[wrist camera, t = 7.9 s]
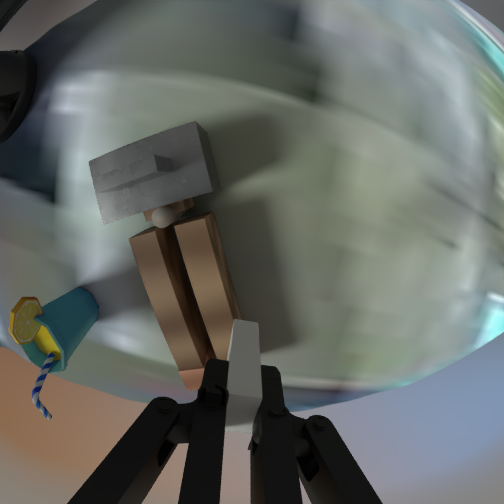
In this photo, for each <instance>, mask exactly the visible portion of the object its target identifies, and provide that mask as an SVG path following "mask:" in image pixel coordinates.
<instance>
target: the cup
mask: <svg viewBox="0 0 504 504" xmlns="http://www.w3.org/2000/svg"><path fill="white" fill-rule="evenodd" d="M98 309H99V306H98V305H97V303H96V301H95V299H94V297H93V295H92V294H91V293H90V292H88V291H86V290H84V289H82V288H80V287H78V288H76V289H74V290H72V291H70V292H68V293H66V294H64V295H63V296H61V297H59V298H57V299H55V300H53V301H52V302H50V303H48V304H46V305H44V306H43V307H41V305H40V303H39V301H38V299H37V298H35V297H22V298H21V299H20V300H19V302H18V303H17V304H16V305H15V307H14V308H13V309H12V311H11V315H10V323H9V332H10V334H11V335H12V337H13V338H14V340H15V341H16V343H18V344H19V345H21V346H22V348H23V349H24V351H25V353H26V354H27V356H28V357H29V359H30V360H31V361H32V362H33V363H35V364H36V365H37V366H39V367H40V368H42V369H41V371H40V374H39V376H38V378H37V381H36V383H35V386H34V388H33V391H32V399H33V403H34V404H35V405H36V406H37V408H38V409H39V410H40V411H41V412H42V413H43V414H44V415H45V417H46V418H47V419H48V420H50V419H51V418H52V415H51V414H50V413H49V412H48V410H47V409H46V408H45V407H44V406H43V404H42V403H41V402H40V401H39V393H40V390H41V388H42V385H43V383H44V380H45V378H46V375H47V373H50V374H52V373H56V372H60V371H64V370H65V368H66V367H67V365H68V364H67V361H68V359H69V358H70V356H71V355H72V354H73V352H74V351H75V349H76V348H77V346H78V345H79V343H80V342H81V341H82V339H83V338H84V336H85V335H86V334H87V332H88V331H89V330H90V328H91V327H92V326H93V324H94V323H95V321H96V320H97V317H98Z"/></svg>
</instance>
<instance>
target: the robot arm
mask: <svg viewBox="0 0 504 504" xmlns="http://www.w3.org/2000/svg"><path fill="white" fill-rule="evenodd" d="M27 1H28V0H0V32H1V31H2V29H3V28H4V27H5V26H6V24H7V23H8V22H9V21H10V20H11V19H12V17H13V16H14V15H15V14H16V13H17V11H18V10H19V9H20V8H21V7H22V6H23V5H24V4H25V3H26V2H27ZM35 82H36V62H35V59H34V58H33V56H32V55H31V54H29V53H26V52H24V51H21V50H12V51H0V143H2V142H4V141H5V140H6V139H8V138H9V137H10V136H11V134H12V133H13V132H14V131H15V129H16V128H17V127H18V125H19V123H20V122H21V120H22V118H23V116H24V114H25V112H26V110H27V108H28V105H29V103H30V100H31V97H32V94H33V91H34V87H35ZM225 430H228V431H234V432H244V433H251V431H252V430H253V431H252V434H253V435H252V438H251V442H250V444H249V447H248V450H250V456H251V457H250V460H251V461H250V464H251V467H250V469H251V504H303V503H302V495H301V488H300V481H299V478H300V480H301V482H302V484H303V486H304V488H305V490H306V493H307V495H308V497H309V499H310V501H311V503H312V504H383V503H382V502H381V500H380V499H379V497H378V496H377V494H376V492H375V491H374V489H373V488H372V486H371V485H370V483H369V481H368V480H367V478H366V477H365V475H364V474H363V472H362V470H361V469H360V467H359V466H358V464H357V462H356V461H355V460H354V458H353V456H352V454H351V453H350V451H349V450H348V448H347V446H346V445H345V443H344V441H343V440H342V438H341V437H340V435H339V433H338V432H337V430H336V428H335V427H334V425H333V424H332V422H331V421H330V420H329V419H328V418H326V417H324V416H321V415H313V416H310V417H309V418H308V419H303V418H300V417H297V416H294V415H292V414H291V413H290V412H289V410H288V409H287V408H286V407H285V404H284V397H283V389H282V382H281V375H280V372H279V371H278V369H277V368H276V367H275V366H266V365H261V363H260V345H259V327H258V322H251V321H245V320H239V319H234V323H233V328H232V333H231V339H230V344H229V350H228V356H227V361H226V360H220V359H215V358H210V359H209V360H208V361H207V362H206V364H205V369H204V374H203V379H202V383H201V386H200V387H199V389H198V396H197V399H196V400H195V401H193V402H191V403H186V404H178V403H177V402H176V401H175V400H173V399H171V398H168V397H157V398H154V399H153V400H152V401H151V402H150V403H149V404H148V406H147V407H146V408H145V409H144V411H143V412H142V413H141V414H140V416H139V417H138V418H137V419H136V421H135V422H134V423H133V424H132V425H131V427H130V428H129V429H128V430H127V432H126V433H125V434H124V435H123V437H122V438H121V439H120V440H119V441H118V443H117V444H116V445H115V446H114V448H113V449H112V450H111V451H110V453H109V454H108V455H107V456H106V457H105V459H104V460H103V461H102V462H101V464H100V465H99V466H98V467H97V468H96V470H95V471H94V472H93V473H92V475H91V476H90V477H89V478H88V479H87V480H86V482H85V483H84V484H83V485H82V487H81V488H80V489H79V490H78V491H77V492H76V494H75V495H74V496H73V497H72V498H71V500H70V501H69V502H68V503H67V504H141V503H142V502H143V500H144V499H145V497H146V496H147V494H148V492H149V491H150V489H151V488H152V486H153V484H154V483H155V481H156V479H157V478H158V476H159V475H160V473H161V471H162V470H163V468H164V467H165V465H166V463H167V462H168V460H169V458H170V457H171V455H172V453H173V452H174V450H175V448H176V447H177V445H178V444H179V443H189V445H188V451H187V457H186V461H185V467H184V473H183V478H182V484H181V489H180V495H179V501H178V504H219V502H220V488H221V475H222V460H223V446H224V434H225Z"/></svg>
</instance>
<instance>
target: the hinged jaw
mask: <svg viewBox="0 0 504 504" xmlns="http://www.w3.org/2000/svg"><path fill="white" fill-rule="evenodd" d="M174 228H175V231H176V235H177V238H178V242H179V245H180V249H181V252H182V255H183V259H184V262H185V265H186V269H187V272H188V275H189V278H190V281H191V285H192V288H193V291H194V294H195V297H196V300H197V303H198V306H199V309H200V312H201V315H202V318H203V321H204V324H205V326H206V329H207V332H208V335H209V338H210V340H211V343H212V346H213V349H214V351H215V354H216V357H217V359H220V360H226V361H227V356H228V350H229V344H230V339H231V333H232V328H233V323H234V319H239V320H242V317H241V314H240V310H239V307H238V303H237V299H236V296H235V292H234V289H233V285H232V281H231V278H230V274H229V271H228V267H227V263H226V259H225V256H224V252H223V248H222V245H221V241H220V237H219V233H218V229H217V225H216V222H215V218H214V214H213V211H212V212H208V213H204V214H201V215H197V216H193V217H189V218H186V219H185V220H183V221H182V222H180V223H178V224H177V225H175V226H174Z"/></svg>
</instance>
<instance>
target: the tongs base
mask: <svg viewBox="0 0 504 504" xmlns="http://www.w3.org/2000/svg"><path fill="white" fill-rule="evenodd" d="M193 206H194V203H193V199H192V197H191V198H188V199H184V200H181V201H177V202H174V203H170V204H167V205H163V206H160V207H157V208H153V209H150V210H147V211H144V216H145V219H146V221H150V220H152V222H153V224H154V225H155V227H152V228H148V229H146V230H144V231H142V232H140V233H138V234H137V235H135V236H133V237H131V238H129V241H130V244H131V247H132V250H133V254H134V257H135V260H136V263H137V266H138V269H139V272H140V275H141V277H142V280H143V283H144V286H145V289H146V291H147V294H148V297H149V299H150V302H151V305H152V307H153V310H154V312H155V315H156V317H157V320H158V322H159V325H160V327H161V330H162V332H163V334H164V337H165V339H166V341H167V344H168V346H169V348H170V351H171V353H172V355H173V357H174V359H175V362H176V364H177V366H178V368H179V371H178V372H179V374H180V376H181V378H182V380H183V382H184V384H185V386H186V388H187V390H188V391H189V390H198V389H199V387H200V386H201V383H202V379H203V374H204V369H205V364H206V362H207V361H208V360H209V359H210V358H215V359H216V357H215V354H214V351H213V349H212V346H211V343H210V342H209V340H208V337H207V335H206V332H205V329H204V326H203V323H202V321H201V318H200V315H199V312H198V309H197V306H196V303H195V300H194V297H193V294H192V291H191V288H190V285H189V282H188V279H187V276H186V273H185V270H184V267H183V263H182V260H181V257H180V254H179V250H178V247H177V243H176V240H175V237H174V233H173V230H172V226H171V224H172V223H173V222H175V221H177V220H178V219H180V218H182V217H183V215H184V213H185V210H187V209H189V208H191V207H193Z"/></svg>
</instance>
